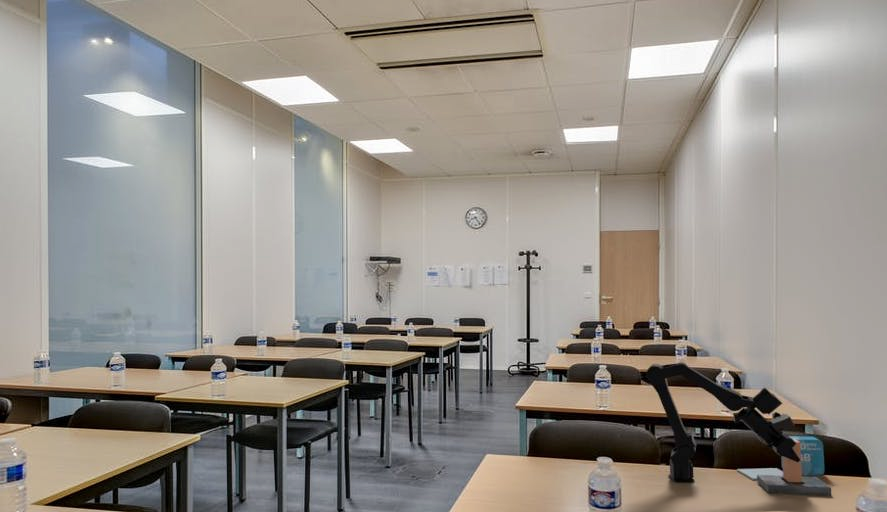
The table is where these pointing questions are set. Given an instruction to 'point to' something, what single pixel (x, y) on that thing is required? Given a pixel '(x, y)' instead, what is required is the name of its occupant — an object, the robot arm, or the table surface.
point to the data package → (810, 455)
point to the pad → (760, 472)
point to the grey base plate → (793, 485)
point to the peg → (793, 466)
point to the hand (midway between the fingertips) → (796, 459)
